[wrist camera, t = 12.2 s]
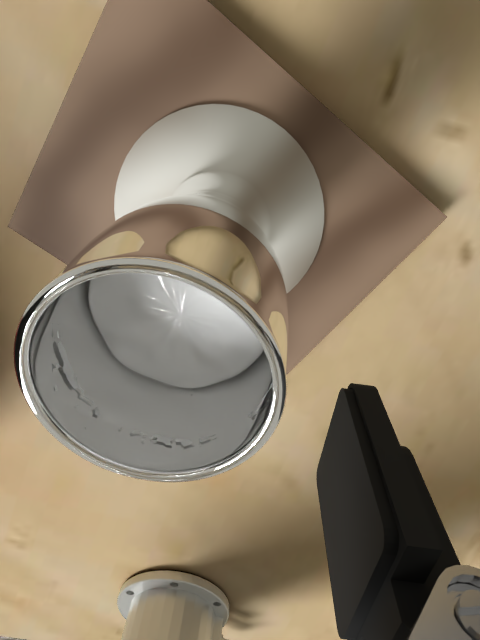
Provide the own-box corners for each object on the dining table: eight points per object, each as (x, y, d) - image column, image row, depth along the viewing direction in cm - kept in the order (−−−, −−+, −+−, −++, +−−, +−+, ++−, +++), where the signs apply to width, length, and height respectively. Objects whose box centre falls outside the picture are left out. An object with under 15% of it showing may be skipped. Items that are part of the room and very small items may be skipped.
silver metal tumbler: (137, 242, 23) (-31, 414, 10) (195, 133, 20) (65, 176, 7) (236, 302, 25) (201, 521, 12) (303, 209, 22) (360, 360, 9)
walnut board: (439, 211, 23) (449, 218, 22) (268, 382, 30) (267, 395, 28) (143, -55, 18) (133, -67, 17) (18, 221, 25) (4, 227, 23)
